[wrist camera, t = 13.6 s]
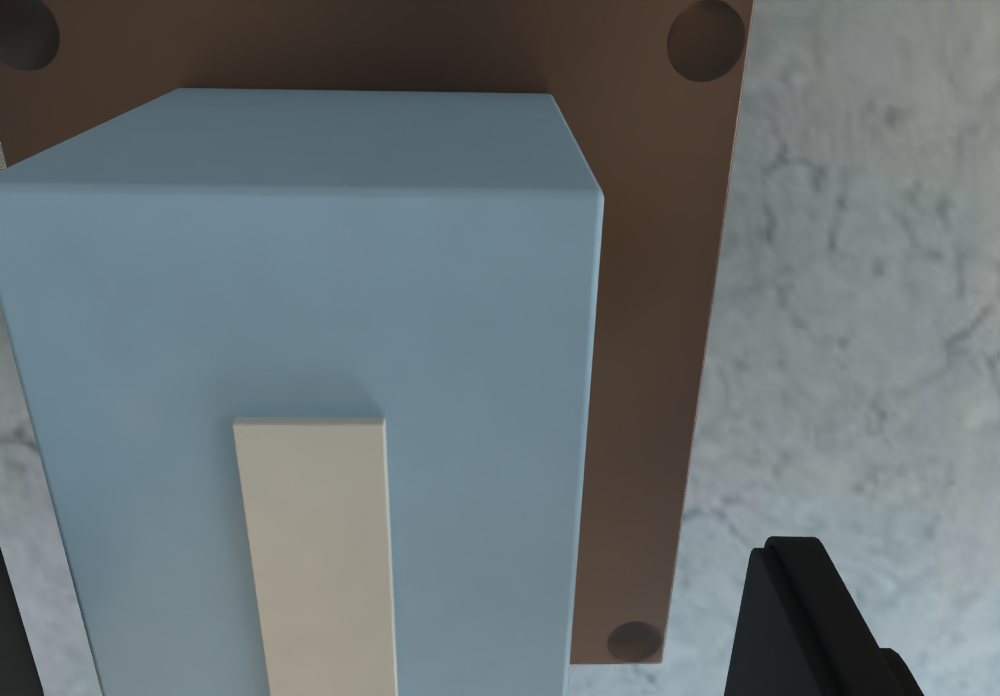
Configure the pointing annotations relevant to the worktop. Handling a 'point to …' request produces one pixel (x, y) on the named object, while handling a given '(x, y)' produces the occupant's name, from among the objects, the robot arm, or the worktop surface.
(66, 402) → the tissue box
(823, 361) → the worktop surface
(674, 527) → the rack
